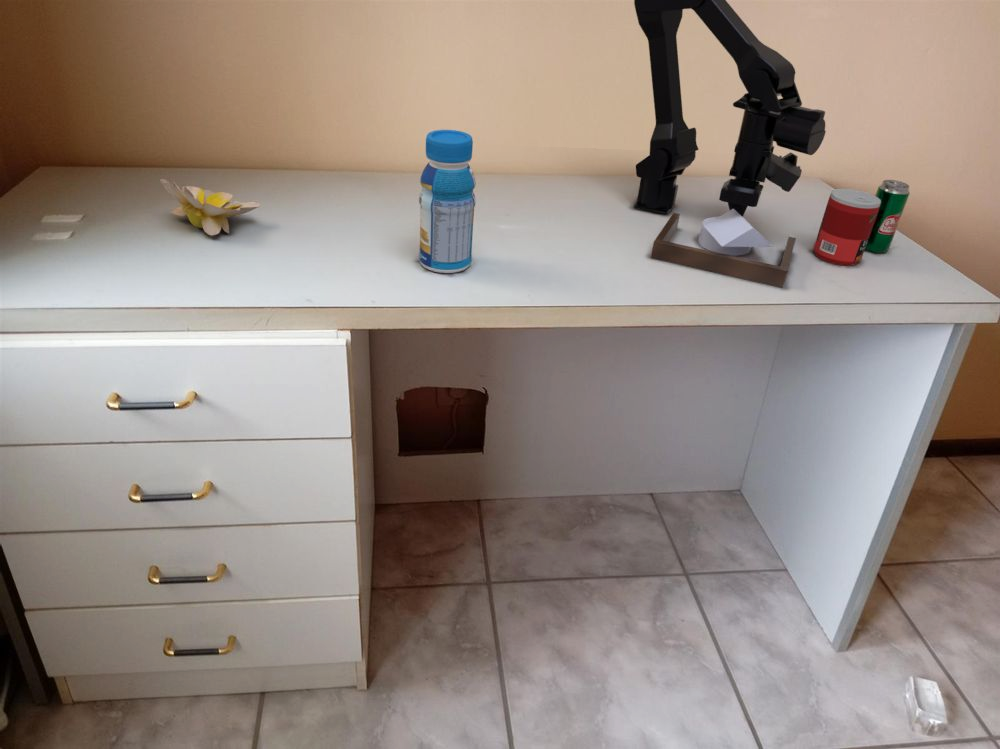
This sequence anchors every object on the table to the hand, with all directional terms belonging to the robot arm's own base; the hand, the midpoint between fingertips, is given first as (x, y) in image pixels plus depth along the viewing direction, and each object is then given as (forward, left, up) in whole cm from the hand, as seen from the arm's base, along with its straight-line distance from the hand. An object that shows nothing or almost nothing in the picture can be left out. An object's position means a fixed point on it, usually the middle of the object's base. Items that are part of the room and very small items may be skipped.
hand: (735, 225), depth 140 cm
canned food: (+18, 0, -2) cm, 18 cm away
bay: (0, -10, -2) cm, 10 cm away
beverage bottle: (-39, -38, -2) cm, 55 cm away
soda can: (+24, +8, -2) cm, 25 cm away
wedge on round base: (0, -7, -2) cm, 8 cm away
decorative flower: (-78, -45, -2) cm, 90 cm away
